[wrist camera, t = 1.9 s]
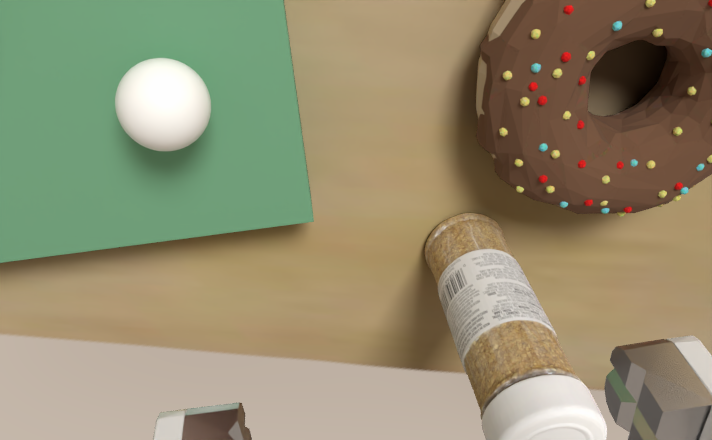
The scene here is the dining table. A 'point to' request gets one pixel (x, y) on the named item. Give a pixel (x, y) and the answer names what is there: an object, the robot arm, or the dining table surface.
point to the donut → (570, 103)
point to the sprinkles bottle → (506, 338)
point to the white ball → (163, 104)
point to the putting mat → (118, 150)
